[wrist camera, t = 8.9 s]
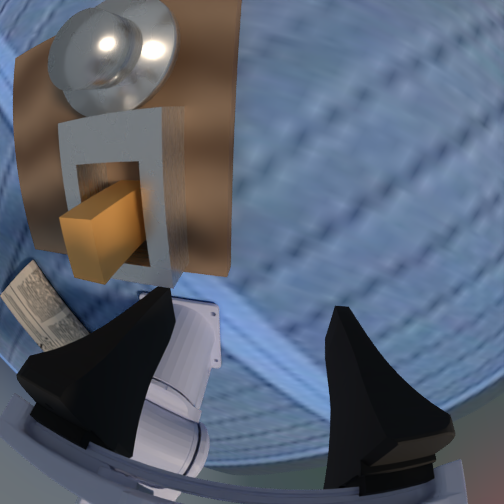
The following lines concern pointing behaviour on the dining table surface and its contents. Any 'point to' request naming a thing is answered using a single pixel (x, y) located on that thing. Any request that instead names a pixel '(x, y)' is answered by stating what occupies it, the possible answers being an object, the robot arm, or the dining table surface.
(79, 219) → the tan rectangular prism
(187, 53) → the board
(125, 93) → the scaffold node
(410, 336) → the dining table surface
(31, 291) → the newspaper
